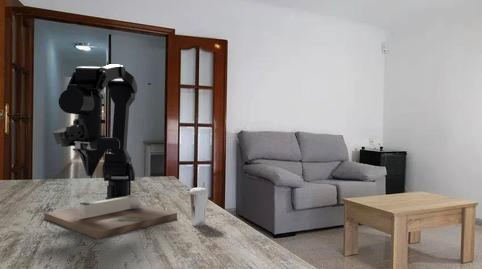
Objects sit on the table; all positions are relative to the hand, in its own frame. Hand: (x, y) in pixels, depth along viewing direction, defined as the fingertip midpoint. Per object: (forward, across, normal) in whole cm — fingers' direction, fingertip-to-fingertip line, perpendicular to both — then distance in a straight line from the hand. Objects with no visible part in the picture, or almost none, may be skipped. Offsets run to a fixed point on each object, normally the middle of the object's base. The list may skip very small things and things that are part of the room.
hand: (89, 175), depth 89 cm
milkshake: (+11, +26, +14) cm, 31 cm away
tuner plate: (+11, +6, +3) cm, 12 cm away
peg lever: (+9, +6, +3) cm, 11 cm away
